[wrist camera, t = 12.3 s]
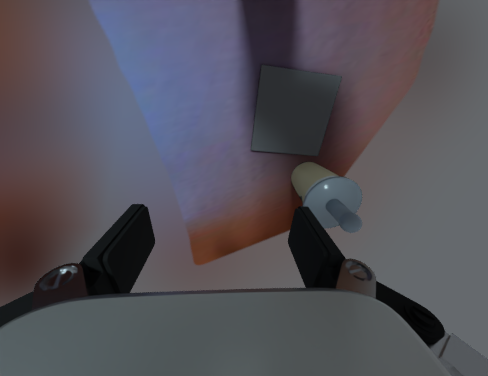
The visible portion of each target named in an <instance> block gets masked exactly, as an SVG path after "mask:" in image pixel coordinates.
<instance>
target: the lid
mask: <svg viewBox="0 0 488 376" xmlns="http://www.w3.org/2000/svg"><path fill="white" fill-rule="evenodd" d="M361 201H362V192H361V189H360V187H359V186H358V185H357V184H356V183H355V182H354V181H352V180H350V179H349V178H346V177H331V178H327V179H324V180H322V181H320V182H319V183H317V184H316V185H315V186H313V187H312V188H311V189H310V191H309V192H308V193H307V195H306V196H305V198H304V201H303V206H306V207H309V209H310V210H311V211H312V213H313V214H314V215H315V217H316V218H317V220H318V221H319V222H320V224H321V225H322V227H323V228H332V227H336V226H339V225H340V227H341V228H342V229H343V230H344V231H346V232H349V233H353V232H357V231H358V230H360V229H361V227H362V220H361V218H360V217H359V216H358V215H356V214H355V213H356V212H357V210H358V209H359V207H360V205H361Z"/></svg>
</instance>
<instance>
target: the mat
mask: <svg viewBox="0 0 488 376" xmlns="http://www.w3.org/2000/svg"><path fill="white" fill-rule="evenodd" d="M341 78H342V76H336V75H329V74H322V73H315V72H308V71H301V70H295V69H288V68H281V67H274V66H267V65H261V72H260V80H259V88H258V96H257V104H256V112H255V120H254V128H253V136H252V144H251V150H254V151H266V152H277V153H288V154H299V155H311V156H318V155H319V151H320V148H321V145H322V141H323V138H324V135H325V131H326V128H327V125H328V121H329V118H330V115H331V112H332V108H333V105H334V102H335V98H336V95H337V92H338V88H339V85H340V82H341Z"/></svg>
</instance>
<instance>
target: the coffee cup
mask: <svg viewBox="0 0 488 376" xmlns="http://www.w3.org/2000/svg"><path fill="white" fill-rule="evenodd" d="M331 177H340V176H338V175H336V174H334V173H333V172H331V171H329V170H327V169H325V168H323V167H321V166H320V165H318V164H316V163H313V162H304V163H302V164H300V165H298V166H297V167H296V168H295V169H294V171H293V172H292V176H291V182H292V184H293V186H294V188H295V190H296V192H297V193H298V195H299V197H300V199H301V200H302V202H303V201H304V198H305V196H306V195H307V193H308V192H309V191H310V189H311V188H312V187H313V186H315V185H316V184H317V183H319V182H320V181H322V180H324V179H327V178H331Z"/></svg>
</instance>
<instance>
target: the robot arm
mask: <svg viewBox="0 0 488 376" xmlns="http://www.w3.org/2000/svg"><path fill="white" fill-rule="evenodd" d="M154 244H155V238H154V233H153V229H152V224H151V220H150V216H149V212H148V208H147V207H145V206H144V205H143V204H132V205H131V206H130V207H129V208H128V209H127V211H126V212H125V213H124V214H123V215H122V216H121V217H120V218H119V219H118V220H117V221H116V222H115V224H113V226H112V227H111V228H110V229H109V230H108V231H107V232H106V233H105V234H104V235H103V236H102V238H101V239H100V240H99V241H98V242H97V243H96V244H95V245H94V246H93V247H92V248H91V249H90V250H89V251H88V252H87V254H86V255H85V256H84V257H83V260H82V261H81V262H80V263H79V264H78V263H68V264H64V265H61V266H58V267H56V268H54V269H52V270H50V271H49V272H47V273H46V274H44V275H43V276H42V277H41V278H40V279H39V280H38V281H37V283H36V284H35V286H34V290H33V292H31V293H28V294H26V295H24V296H22V297H20V298H18V299H16V300H14V301H12V302H10V303H8V304H6V305H4V306H2V307H0V376H488V359H487V358H485V357H484V356H483V355H481V354H480V353H479V352H477V351H476V350H475V349H473V348H472V347H470V346H469V345H468V344H466V343H465V342H464V341H462V340H461V339H460V338H458V337H457V336H456V335H454V334H453V333H452V334H450V335H449V334H448V333H446V332H445V330H444V327H443V325H442V324H441V322H440V321H439V320H438V319H437V318H436V317H435V315H433V314H432V313H431V312H430V311H429V310H428V309H426V308H425V307H423V306H421V305H420V304H418V303H416V302H414V301H412V300H410V299H409V298H407V297H405V296H403V295H401V294H399V293H398V292H396V291H394V290H392V289H390V288H388V287H387V286H385V285H383V284H381V283H379V282H377V281H376V276H375V274H374V272H373V271H372V270H371V268H370V267H368V266H367V265H366V264H364V263H363V262H361V261H358V260H356V259H345V257H344V256H343V254H342V253H341V251H340V250H339V249H338V247H337V246H336V245H335V243H334V242H333V240H332V239H331V238H330V236H329V235H328V233H327V232H326V231H325V230H324V228H323V227H322V225H321V224H320V222H319V221H318V220H317V218H316V217H315V215H314V214H313V213H312V211H311V210H310V209H309V207H306V206H299V207H298V209H295V212H294V216H293V221H292V225H291V229H290V233H289V238H288V244H289V247H290V249H291V252H292V254H293V257H294V259H295V262H296V264H297V267H298V269H299V272H300V274H301V277H302V279H303V282H304V284H305V287H306V288H273V289H234V290H201V291H173V292H146V293H145V292H144V293H130V291H131V289H132V287H133V285H134V283H135V282H136V279H137V278H138V276H139V274H140V272H141V270H142V268H143V266H144V264H145V262H146V260H147V258H148V256H149V255H150V253H151V251H152V249H153V247H154Z"/></svg>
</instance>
